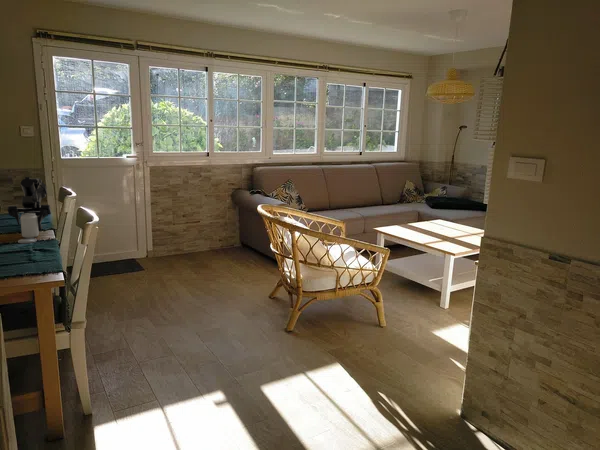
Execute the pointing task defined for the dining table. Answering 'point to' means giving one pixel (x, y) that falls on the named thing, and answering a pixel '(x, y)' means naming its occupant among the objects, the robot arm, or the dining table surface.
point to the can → (29, 225)
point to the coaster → (27, 240)
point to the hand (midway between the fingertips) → (29, 224)
